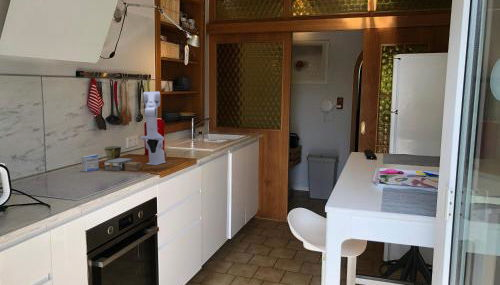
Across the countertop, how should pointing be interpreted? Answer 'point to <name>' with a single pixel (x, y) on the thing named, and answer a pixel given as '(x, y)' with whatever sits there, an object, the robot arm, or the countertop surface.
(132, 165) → the walnut block
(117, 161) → the gauge housing
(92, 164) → the medicine box
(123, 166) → the gauge plunger
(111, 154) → the ceramic cup
